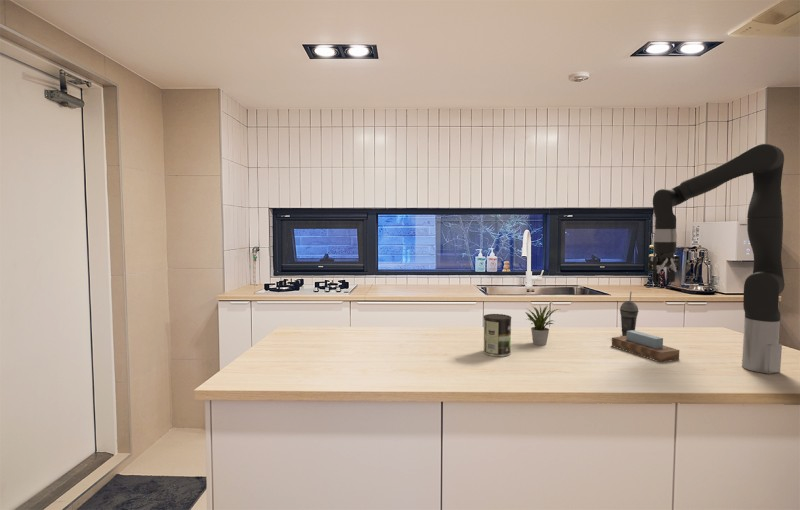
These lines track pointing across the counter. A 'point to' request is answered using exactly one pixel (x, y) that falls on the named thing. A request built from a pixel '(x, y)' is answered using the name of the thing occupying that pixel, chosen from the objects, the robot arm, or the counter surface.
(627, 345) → the brown wooden slab
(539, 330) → the house plant
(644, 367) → the counter surface
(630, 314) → the beverage cup
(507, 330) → the coffee can
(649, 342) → the grey bridge block
